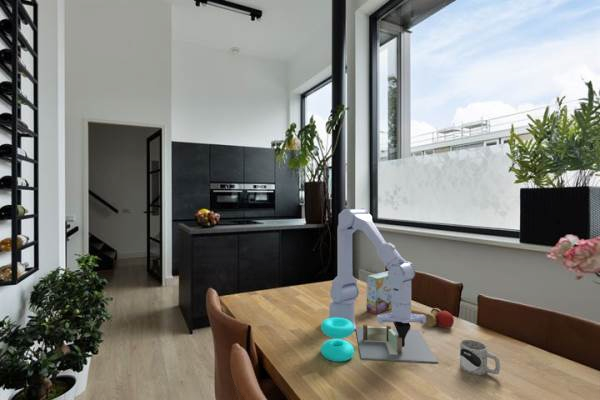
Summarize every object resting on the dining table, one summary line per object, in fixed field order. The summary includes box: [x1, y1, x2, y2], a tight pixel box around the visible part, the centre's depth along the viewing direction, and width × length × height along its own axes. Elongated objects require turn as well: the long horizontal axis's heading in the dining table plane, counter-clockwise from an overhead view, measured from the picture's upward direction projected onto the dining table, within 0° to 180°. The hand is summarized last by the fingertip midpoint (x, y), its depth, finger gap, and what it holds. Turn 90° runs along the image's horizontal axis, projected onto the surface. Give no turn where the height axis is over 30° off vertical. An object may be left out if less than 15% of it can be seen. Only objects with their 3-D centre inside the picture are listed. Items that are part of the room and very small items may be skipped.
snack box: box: [365, 270, 392, 315], centre depth 137 cm, size 21×6×15 cm, turn 129°
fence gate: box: [388, 328, 402, 354], centre depth 100 cm, size 8×1×4 cm, turn 6°
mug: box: [459, 339, 501, 376], centre depth 88 cm, size 10×7×7 cm, turn 37°
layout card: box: [355, 326, 439, 364], centre depth 104 cm, size 22×22×1 cm
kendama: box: [411, 307, 455, 329], centre depth 121 cm, size 8×6×18 cm
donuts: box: [320, 317, 355, 362], centre depth 97 cm, size 10×10×10 cm
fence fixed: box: [362, 324, 392, 341], centre depth 105 cm, size 9×1×5 cm, turn 84°
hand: (401, 345), depth 99 cm, fingers closed
